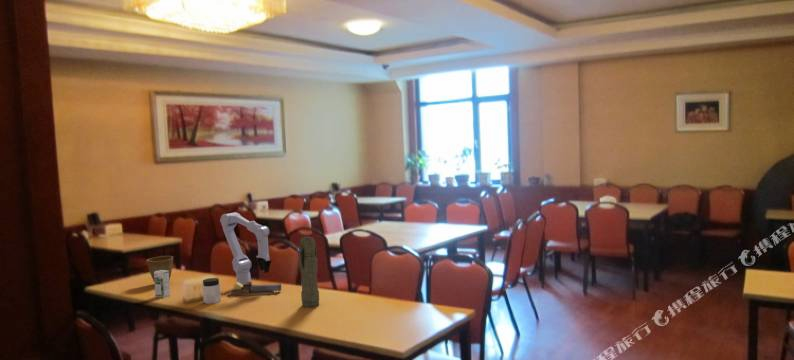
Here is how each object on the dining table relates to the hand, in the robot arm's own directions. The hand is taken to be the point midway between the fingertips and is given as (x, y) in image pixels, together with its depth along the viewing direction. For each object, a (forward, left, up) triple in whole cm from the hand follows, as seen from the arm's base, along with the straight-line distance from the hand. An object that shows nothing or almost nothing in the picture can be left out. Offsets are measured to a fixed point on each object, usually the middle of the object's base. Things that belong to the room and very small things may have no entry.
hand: (264, 271), depth 334 cm
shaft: (+8, +1, -9) cm, 12 cm away
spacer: (+8, -12, -8) cm, 16 cm away
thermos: (+36, +32, -11) cm, 49 cm away
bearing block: (+8, -6, -10) cm, 14 cm away
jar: (+23, -23, -11) cm, 34 cm away
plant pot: (-21, -69, -11) cm, 73 cm away
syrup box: (+8, -56, -11) cm, 58 cm away
